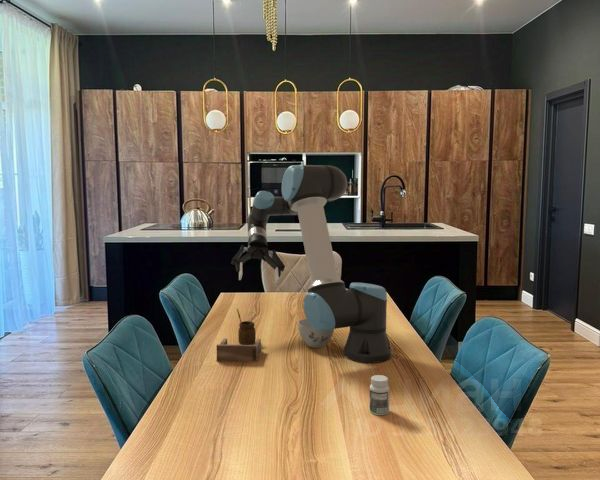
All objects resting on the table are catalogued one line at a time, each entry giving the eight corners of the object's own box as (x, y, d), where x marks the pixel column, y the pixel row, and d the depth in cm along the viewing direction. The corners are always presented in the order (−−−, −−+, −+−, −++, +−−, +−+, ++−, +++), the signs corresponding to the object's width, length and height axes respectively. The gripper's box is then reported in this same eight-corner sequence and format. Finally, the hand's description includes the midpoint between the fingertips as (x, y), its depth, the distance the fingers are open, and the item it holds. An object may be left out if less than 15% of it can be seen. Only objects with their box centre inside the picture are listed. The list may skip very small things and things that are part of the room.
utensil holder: (254, 345, 174) (254, 311, 173) (236, 345, 175) (235, 311, 173) (256, 340, 180) (256, 306, 179) (238, 340, 180) (238, 306, 179)
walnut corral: (223, 350, 169) (223, 335, 169) (260, 350, 169) (260, 336, 168) (216, 361, 159) (216, 345, 158) (256, 361, 158) (256, 346, 158)
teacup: (333, 352, 167) (333, 328, 166) (295, 350, 169) (295, 327, 168) (335, 338, 182) (335, 316, 181) (301, 337, 184) (301, 315, 183)
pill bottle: (375, 405, 127) (376, 372, 126) (392, 410, 124) (393, 377, 123) (365, 412, 123) (366, 378, 122) (382, 417, 120) (383, 383, 119)
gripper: (285, 252, 207) (289, 290, 191) (224, 243, 201) (223, 282, 185) (290, 238, 202) (294, 277, 186) (227, 229, 196) (226, 268, 180)
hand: (259, 280), depth 186 cm, fingers open, 13 cm apart
